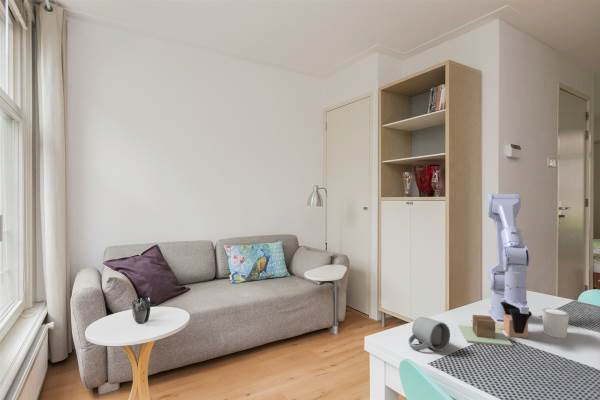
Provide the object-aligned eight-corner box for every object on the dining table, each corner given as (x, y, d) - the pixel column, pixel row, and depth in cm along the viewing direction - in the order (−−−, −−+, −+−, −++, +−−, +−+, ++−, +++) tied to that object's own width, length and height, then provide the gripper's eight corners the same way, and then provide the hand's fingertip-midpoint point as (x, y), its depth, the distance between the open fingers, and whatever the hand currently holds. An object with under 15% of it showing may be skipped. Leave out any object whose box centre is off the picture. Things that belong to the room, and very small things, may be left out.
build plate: (458, 326, 109) (458, 325, 109) (498, 330, 106) (498, 328, 106) (467, 342, 98) (467, 340, 98) (513, 346, 95) (513, 344, 95)
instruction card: (471, 320, 115) (471, 319, 115) (500, 323, 113) (500, 322, 113) (475, 327, 109) (475, 326, 109) (506, 329, 107) (506, 328, 107)
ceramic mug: (428, 337, 101) (428, 312, 101) (451, 348, 94) (450, 321, 94) (401, 344, 97) (401, 318, 97) (423, 356, 89) (422, 328, 89)
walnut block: (472, 330, 105) (472, 314, 105) (490, 331, 104) (490, 316, 104) (476, 336, 100) (476, 320, 100) (495, 338, 99) (495, 321, 99)
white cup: (558, 339, 99) (558, 316, 99) (536, 331, 106) (536, 309, 106) (575, 337, 101) (575, 314, 101) (552, 328, 108) (552, 307, 108)
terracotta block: (503, 330, 107) (503, 314, 106) (521, 331, 105) (521, 315, 105) (509, 336, 102) (509, 320, 102) (527, 337, 100) (527, 321, 100)
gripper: (493, 279, 111) (493, 319, 111) (509, 291, 97) (509, 337, 97) (517, 280, 110) (517, 321, 110) (537, 292, 96) (536, 339, 96)
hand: (515, 329), depth 103 cm, fingers closed on terracotta block, 5 cm apart
